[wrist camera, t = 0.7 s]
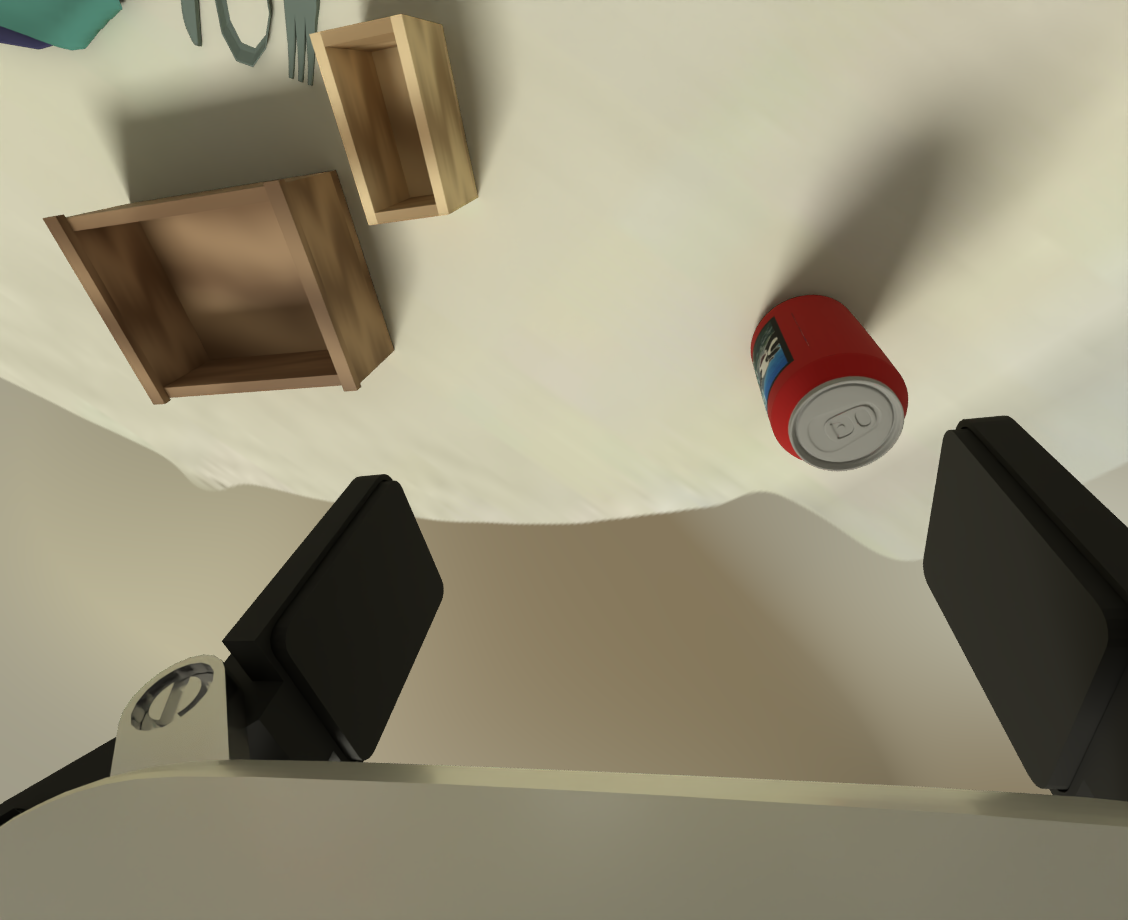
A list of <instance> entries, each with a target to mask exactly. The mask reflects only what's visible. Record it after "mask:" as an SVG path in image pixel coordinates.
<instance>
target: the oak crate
mask: <svg viewBox="0 0 1128 920" xmlns="http://www.w3.org/2000/svg"><path fill="white" fill-rule="evenodd" d="M309 35H310V39H311V42H312V45H313V48H314V51H315V55H316V58H317V61H318V64H319V67H320V71H321V74H322V77H323V80H324V84H325V87H326V90H327V93H328V96H329V100H330V103H331V106H332V109H333V112H334V116H335V119H336V122H337V125H338V129H339V132H340V135H341V138H342V141H343V145H344V148H345V151H346V154H347V158H348V161H349V164H350V167H351V170H352V174H353V177H354V180H355V183H356V186H357V190H358V193H359V196H360V199H361V203H362V206H363V209H364V212H365V215H366V219H367V222H368V225H375V224H382V223H390V222H397V221H404V220H412V219H419V218H426V217H433V216H441V215H448V214H450V213H452V212H454V211H456V210H457V209H459V208H461V207H462V206H464V205H466V204H468V203H469V202H471V201H473V200H474V199H476V198H478V194H477V190H476V185H475V180H474V175H473V170H472V166H471V161H470V156H469V151H468V146H467V142H466V137H465V132H464V127H463V122H462V118H461V113H460V108H459V103H458V98H457V94H456V89H455V84H454V79H453V74H452V69H451V65H450V60H449V55H448V50H447V45H446V41H445V36H444V31H443V26H442V25H441V24H437V23H434V22H430V21H426V20H423V19H419V18H415V17H411V16H408V15H404V14H398V15H394V16H389V17H385V18H380V19H376V20H371V21H367V22H362V23H358V24H353V25H348V26H344V27H339V28H335V29H330V30H326V31H321V32H317V33H312V34H309Z"/></svg>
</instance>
